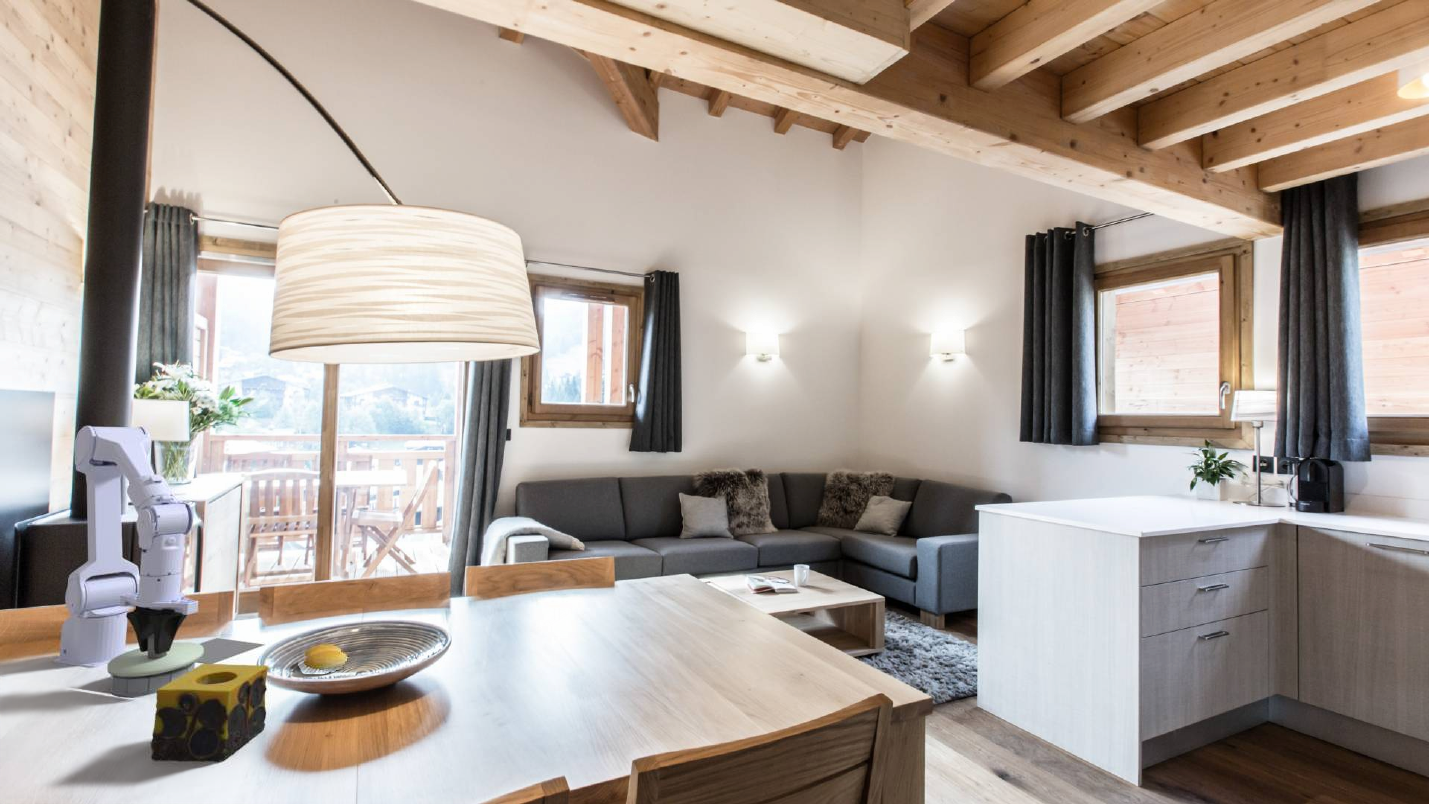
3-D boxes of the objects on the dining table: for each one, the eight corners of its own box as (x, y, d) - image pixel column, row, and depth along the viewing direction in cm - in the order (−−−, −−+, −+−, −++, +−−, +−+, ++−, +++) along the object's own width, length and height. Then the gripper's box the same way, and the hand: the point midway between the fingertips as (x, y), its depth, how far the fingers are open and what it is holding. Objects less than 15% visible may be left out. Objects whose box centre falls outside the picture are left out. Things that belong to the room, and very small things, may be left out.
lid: (86, 671, 114) (86, 645, 114) (163, 643, 126) (163, 619, 126) (150, 680, 111) (150, 654, 111) (221, 650, 124) (222, 626, 124)
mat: (159, 658, 130) (159, 656, 130) (216, 639, 142) (216, 637, 142) (210, 666, 128) (210, 664, 128) (265, 646, 140) (265, 644, 140)
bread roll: (303, 680, 124) (304, 658, 124) (294, 665, 131) (295, 644, 131) (353, 671, 129) (354, 650, 129) (341, 657, 136) (343, 637, 136)
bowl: (93, 692, 114) (94, 674, 114) (158, 670, 125) (160, 653, 125) (145, 701, 112) (147, 682, 112) (208, 677, 122) (209, 660, 123)
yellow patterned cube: (197, 729, 103) (202, 662, 104) (266, 729, 104) (271, 664, 105) (147, 762, 93) (152, 688, 94) (224, 763, 94) (229, 690, 94)
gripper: (216, 572, 121) (210, 648, 121) (151, 564, 124) (145, 639, 124) (177, 580, 114) (171, 662, 114) (109, 572, 117) (103, 651, 117)
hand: (155, 651), depth 118 cm, fingers closed on lid, 3 cm apart
